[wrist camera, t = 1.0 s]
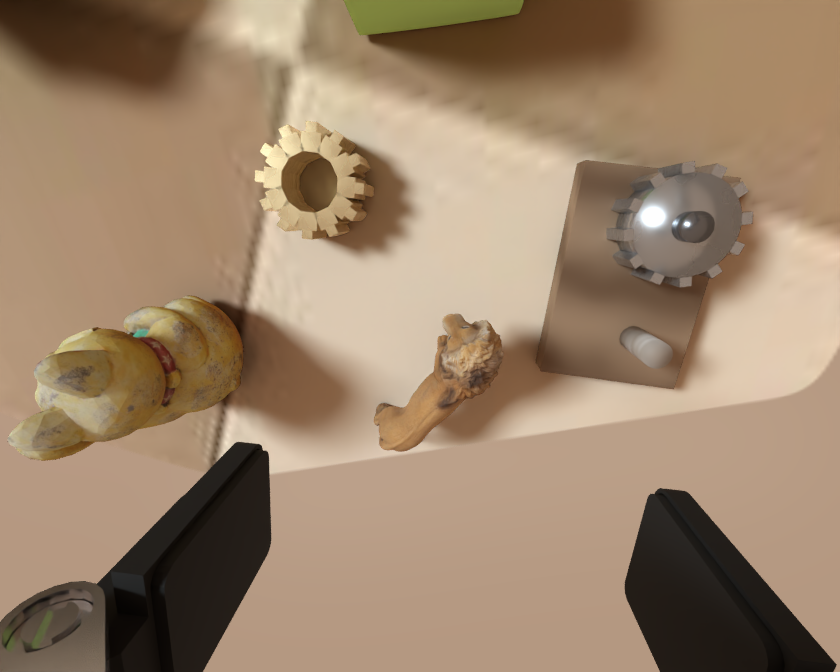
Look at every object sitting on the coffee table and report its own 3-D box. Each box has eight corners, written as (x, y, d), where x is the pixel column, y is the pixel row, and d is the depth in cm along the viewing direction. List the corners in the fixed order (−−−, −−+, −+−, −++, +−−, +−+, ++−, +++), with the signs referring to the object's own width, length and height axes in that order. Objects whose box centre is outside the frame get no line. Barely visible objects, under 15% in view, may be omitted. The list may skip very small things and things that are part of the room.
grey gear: (605, 176, 27) (631, 170, 23) (724, 158, 27) (772, 148, 23) (607, 286, 29) (632, 297, 25) (718, 272, 29) (762, 281, 25)
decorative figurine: (186, 273, 34) (-12, 316, 19) (278, 321, 34) (151, 397, 20) (152, 370, 36) (-44, 470, 22) (237, 413, 37) (100, 538, 23)
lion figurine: (453, 285, 32) (454, 310, 24) (510, 320, 33) (531, 357, 24) (363, 425, 36) (335, 490, 28) (414, 455, 37) (402, 529, 28)
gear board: (577, 163, 29) (607, 151, 23) (721, 180, 29) (788, 171, 23) (535, 362, 33) (552, 392, 28) (661, 379, 33) (704, 413, 27)
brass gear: (277, 126, 30) (255, 115, 27) (377, 138, 30) (368, 128, 26) (275, 230, 32) (255, 232, 29) (369, 242, 32) (359, 245, 28)
